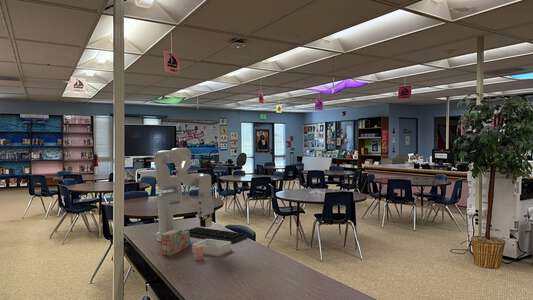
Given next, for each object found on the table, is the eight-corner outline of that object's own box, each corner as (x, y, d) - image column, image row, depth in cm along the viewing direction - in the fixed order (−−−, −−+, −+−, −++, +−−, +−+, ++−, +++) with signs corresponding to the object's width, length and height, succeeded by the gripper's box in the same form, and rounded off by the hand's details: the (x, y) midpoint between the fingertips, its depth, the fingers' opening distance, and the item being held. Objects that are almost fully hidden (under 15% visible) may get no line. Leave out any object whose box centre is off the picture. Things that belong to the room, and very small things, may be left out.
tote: (192, 252, 213) (192, 244, 213) (206, 246, 226) (206, 238, 225) (217, 256, 205) (217, 247, 205) (231, 250, 217) (231, 241, 217)
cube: (199, 226, 216) (199, 218, 216) (205, 224, 220) (204, 216, 220) (206, 227, 213) (206, 218, 213) (211, 225, 218) (211, 217, 218)
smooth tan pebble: (192, 260, 200) (191, 247, 200) (197, 257, 204) (197, 245, 204) (199, 261, 198) (199, 248, 197) (205, 258, 202) (204, 246, 202)
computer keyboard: (246, 238, 245) (246, 233, 245) (232, 244, 231) (231, 238, 231) (197, 231, 269) (197, 226, 269) (181, 236, 256) (181, 230, 256)
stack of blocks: (181, 245, 231) (180, 225, 231) (190, 245, 229) (189, 226, 229) (161, 255, 211) (161, 233, 210) (171, 255, 209) (170, 234, 209)
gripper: (201, 197, 207) (202, 229, 207) (218, 193, 222) (219, 223, 222) (190, 196, 211) (191, 228, 211) (208, 192, 226) (209, 222, 226)
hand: (205, 225), depth 217 cm, fingers closed on cube, 4 cm apart
